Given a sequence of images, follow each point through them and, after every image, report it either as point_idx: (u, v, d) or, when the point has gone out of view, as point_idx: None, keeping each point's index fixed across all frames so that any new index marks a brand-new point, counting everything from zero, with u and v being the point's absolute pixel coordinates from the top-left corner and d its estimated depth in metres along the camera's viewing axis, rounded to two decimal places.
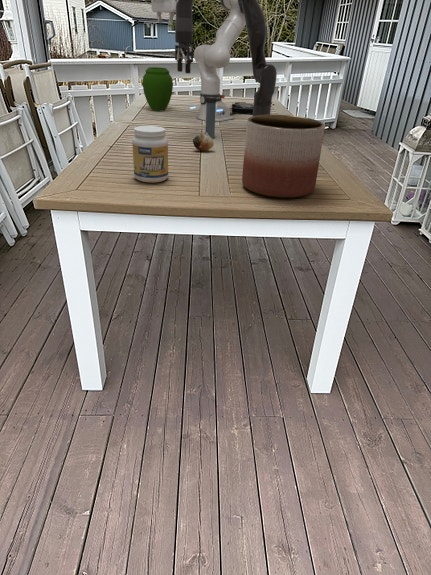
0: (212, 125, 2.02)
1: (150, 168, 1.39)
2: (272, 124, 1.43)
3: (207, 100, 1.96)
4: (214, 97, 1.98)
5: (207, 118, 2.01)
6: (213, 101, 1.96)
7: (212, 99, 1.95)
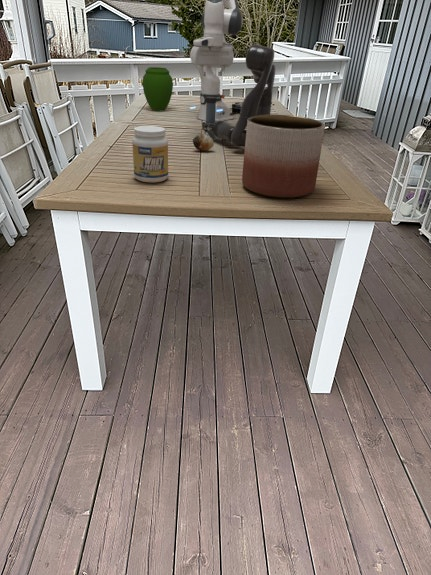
0: None
1: (150, 168, 1.39)
2: (272, 124, 1.43)
3: (207, 100, 1.96)
4: (214, 97, 1.98)
5: (207, 118, 2.01)
6: (213, 101, 1.96)
7: (212, 99, 1.95)
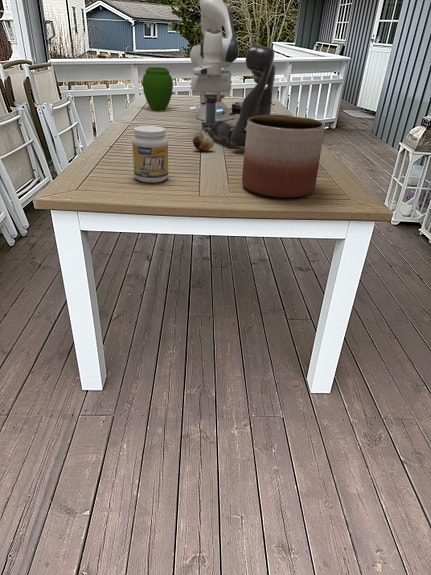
0: None
1: (150, 168, 1.39)
2: (272, 124, 1.43)
3: (207, 100, 1.96)
4: (214, 97, 1.98)
5: (207, 118, 2.01)
6: (213, 101, 1.96)
7: (212, 99, 1.95)
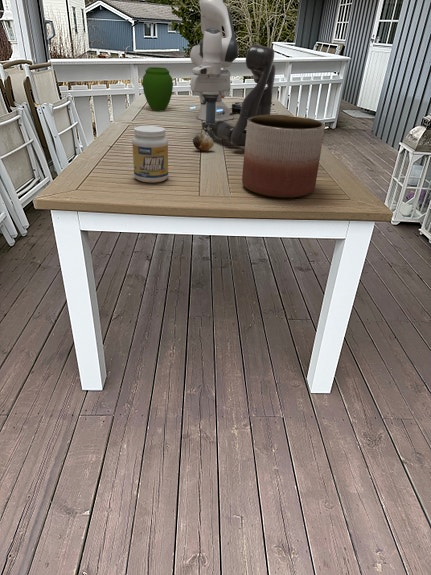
0: None
1: (150, 168, 1.39)
2: (272, 124, 1.43)
3: (211, 100, 1.96)
4: (212, 96, 1.98)
5: (207, 118, 2.01)
6: (216, 100, 1.97)
7: (216, 98, 1.97)
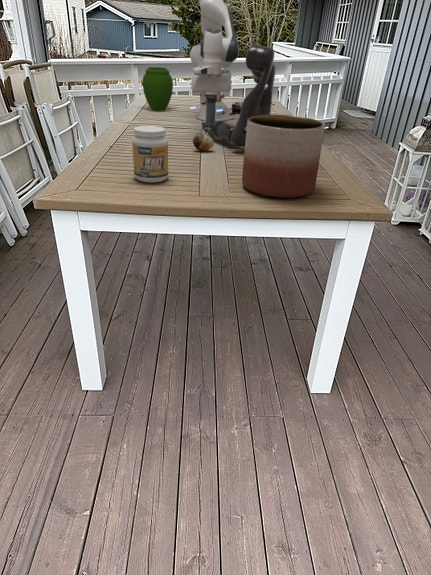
0: None
1: (150, 168, 1.39)
2: (272, 124, 1.43)
3: (211, 100, 1.96)
4: (212, 96, 1.98)
5: (207, 118, 2.01)
6: (216, 100, 1.97)
7: (216, 98, 1.97)
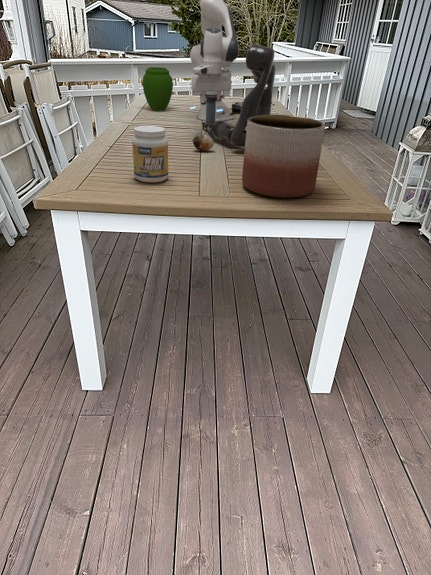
0: None
1: (150, 168, 1.39)
2: (272, 124, 1.43)
3: (215, 99, 1.97)
4: (210, 96, 1.98)
5: (207, 118, 2.01)
6: None
7: None
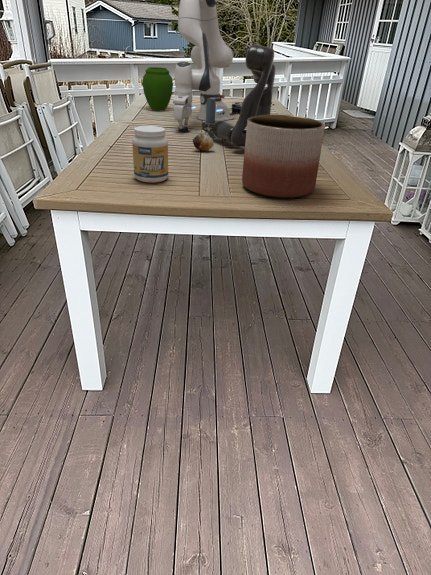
0: None
1: (150, 168, 1.39)
2: (272, 124, 1.43)
3: None
4: None
5: (207, 118, 2.01)
6: None
7: None
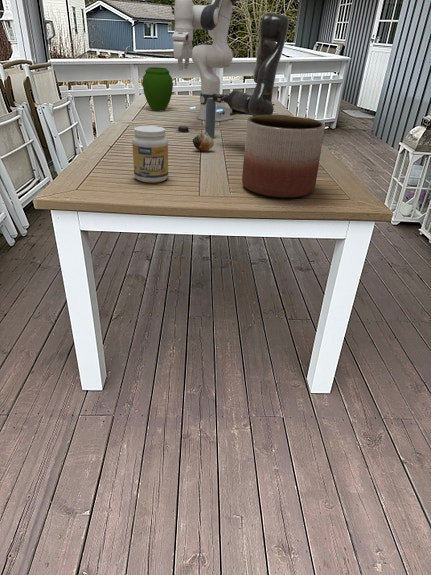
0: (212, 125, 2.02)
1: (150, 168, 1.39)
2: (272, 124, 1.43)
3: None
4: (180, 126, 2.17)
5: (207, 118, 2.01)
6: None
7: None
